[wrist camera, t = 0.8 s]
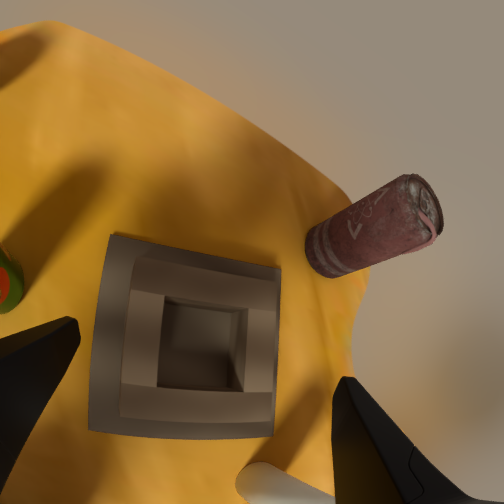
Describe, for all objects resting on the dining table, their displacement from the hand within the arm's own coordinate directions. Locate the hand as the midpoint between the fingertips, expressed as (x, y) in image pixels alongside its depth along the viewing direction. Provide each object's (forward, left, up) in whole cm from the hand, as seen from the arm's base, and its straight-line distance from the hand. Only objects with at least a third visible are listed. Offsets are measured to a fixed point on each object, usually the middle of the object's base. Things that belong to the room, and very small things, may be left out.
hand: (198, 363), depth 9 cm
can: (+12, -18, -16) cm, 27 cm away
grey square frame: (+1, -4, -16) cm, 16 cm away
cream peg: (-12, -11, -16) cm, 22 cm away
